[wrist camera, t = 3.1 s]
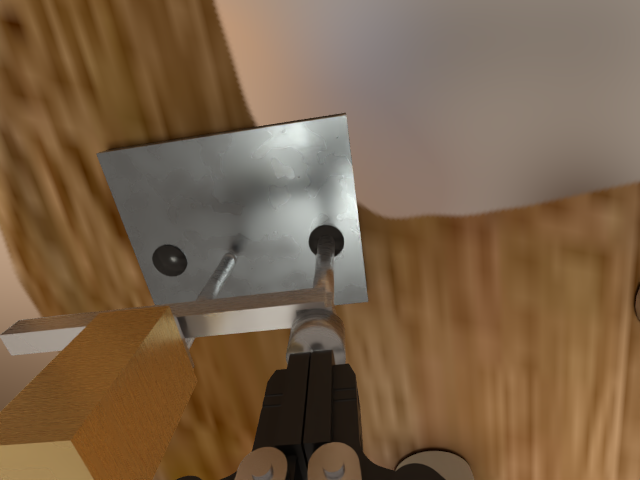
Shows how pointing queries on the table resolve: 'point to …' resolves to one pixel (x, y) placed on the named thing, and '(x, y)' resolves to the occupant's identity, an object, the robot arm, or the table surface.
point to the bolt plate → (236, 233)
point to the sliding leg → (105, 398)
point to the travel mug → (442, 464)
